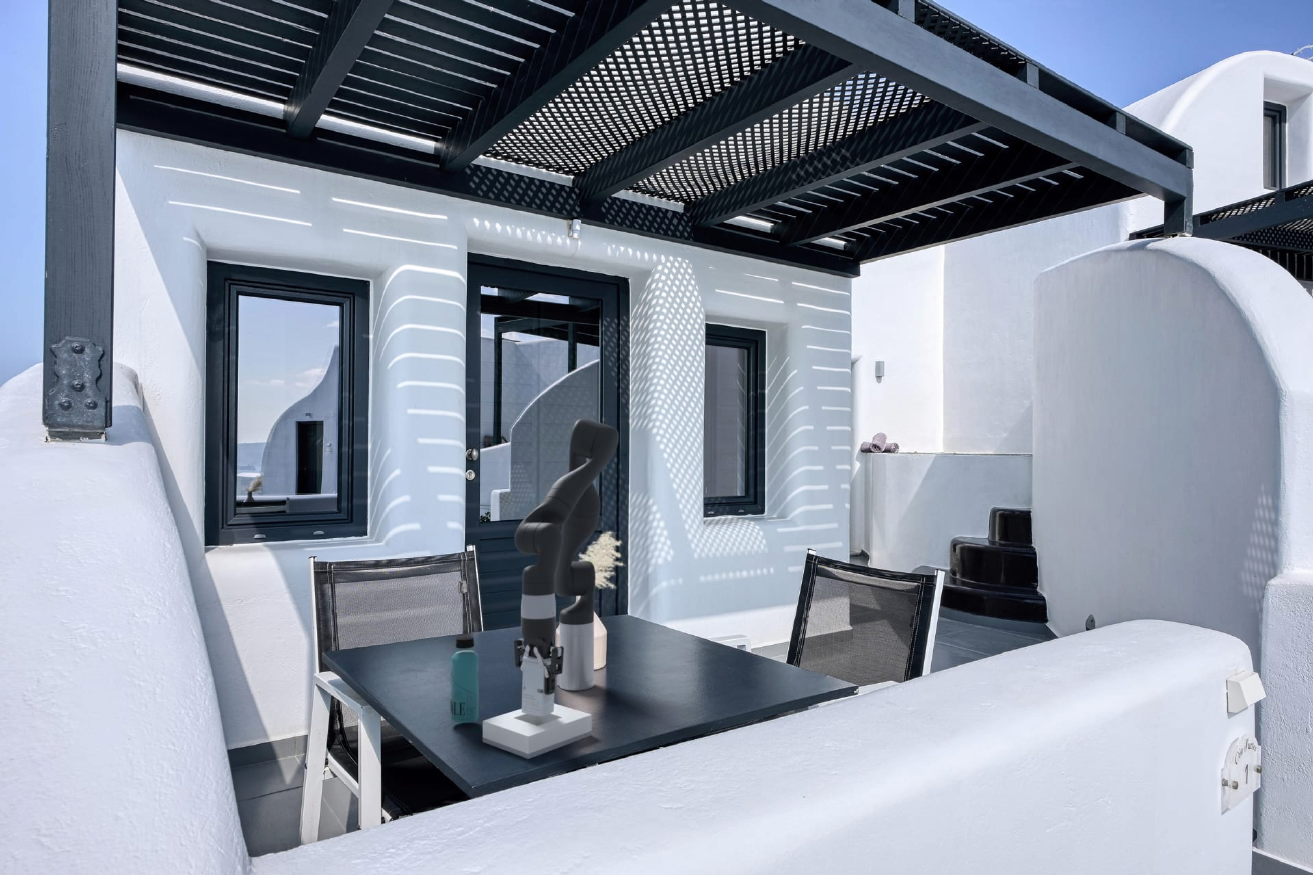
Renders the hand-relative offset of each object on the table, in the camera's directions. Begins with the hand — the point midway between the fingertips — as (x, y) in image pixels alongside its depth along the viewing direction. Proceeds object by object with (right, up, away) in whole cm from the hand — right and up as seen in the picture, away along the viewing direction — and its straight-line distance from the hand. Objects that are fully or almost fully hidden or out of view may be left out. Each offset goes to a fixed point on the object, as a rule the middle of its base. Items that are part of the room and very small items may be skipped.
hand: (538, 690), depth 172 cm
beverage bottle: (-18, -11, +9) cm, 23 cm away
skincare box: (0, -5, 0) cm, 5 cm away
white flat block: (0, -10, 0) cm, 10 cm away
